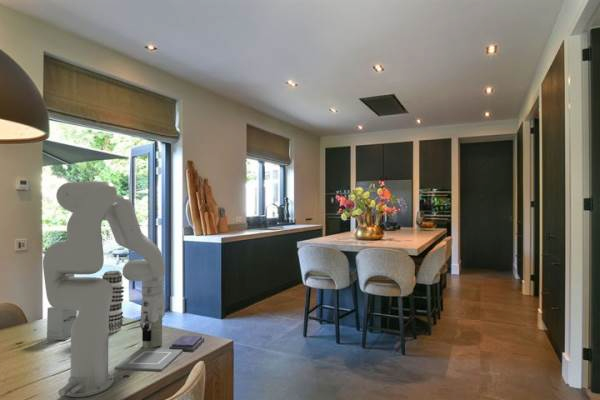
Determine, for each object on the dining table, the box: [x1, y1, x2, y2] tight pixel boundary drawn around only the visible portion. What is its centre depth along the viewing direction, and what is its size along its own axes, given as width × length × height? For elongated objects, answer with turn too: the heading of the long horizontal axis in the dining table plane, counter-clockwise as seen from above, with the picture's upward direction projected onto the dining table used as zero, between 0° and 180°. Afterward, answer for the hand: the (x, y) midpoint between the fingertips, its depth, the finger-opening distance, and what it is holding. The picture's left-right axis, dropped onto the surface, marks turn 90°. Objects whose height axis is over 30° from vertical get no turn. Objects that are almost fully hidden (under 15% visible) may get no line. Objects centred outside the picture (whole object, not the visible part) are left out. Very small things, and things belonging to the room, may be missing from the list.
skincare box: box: [142, 313, 163, 349], centre depth 136 cm, size 6×4×12 cm
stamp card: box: [114, 347, 184, 372], centre depth 124 cm, size 16×16×1 cm
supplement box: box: [46, 306, 78, 341], centre depth 147 cm, size 7×7×13 cm
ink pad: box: [169, 335, 205, 352], centre depth 137 cm, size 10×9×2 cm
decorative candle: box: [101, 270, 125, 334], centre depth 155 cm, size 9×9×25 cm
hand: (152, 336), depth 136 cm, fingers closed on skincare box, 7 cm apart
